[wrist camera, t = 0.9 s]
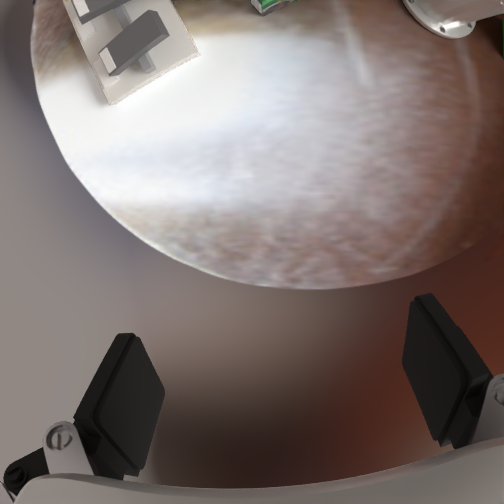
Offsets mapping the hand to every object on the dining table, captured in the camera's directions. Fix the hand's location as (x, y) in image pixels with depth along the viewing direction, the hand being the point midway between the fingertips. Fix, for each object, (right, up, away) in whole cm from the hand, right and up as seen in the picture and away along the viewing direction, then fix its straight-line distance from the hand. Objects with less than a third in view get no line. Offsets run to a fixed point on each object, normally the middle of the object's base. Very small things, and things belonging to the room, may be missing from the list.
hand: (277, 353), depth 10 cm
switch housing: (-17, +34, +18) cm, 42 cm away
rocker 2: (-14, +25, +16) cm, 33 cm away
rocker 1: (-17, +32, +13) cm, 39 cm away
